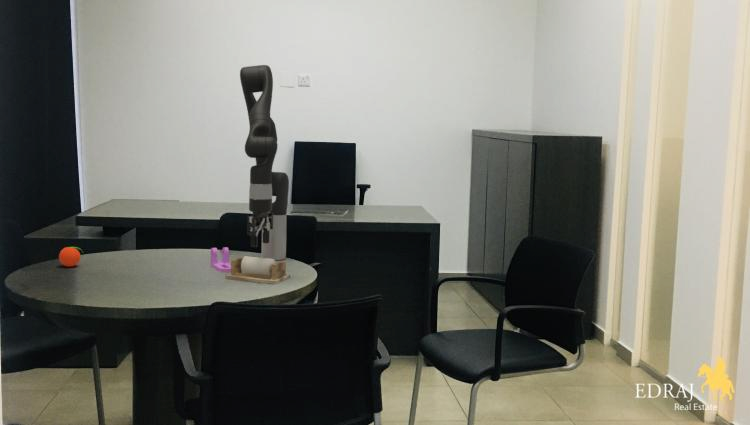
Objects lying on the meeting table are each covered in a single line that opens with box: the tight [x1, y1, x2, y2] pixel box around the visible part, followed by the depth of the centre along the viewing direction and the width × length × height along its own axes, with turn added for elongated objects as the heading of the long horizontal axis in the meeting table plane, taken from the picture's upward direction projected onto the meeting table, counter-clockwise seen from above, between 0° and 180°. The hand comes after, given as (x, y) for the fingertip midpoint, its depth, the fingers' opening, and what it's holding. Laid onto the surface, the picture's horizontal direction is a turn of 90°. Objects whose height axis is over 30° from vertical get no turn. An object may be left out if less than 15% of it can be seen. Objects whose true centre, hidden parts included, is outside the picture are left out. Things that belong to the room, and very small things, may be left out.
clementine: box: [58, 246, 85, 268], centre depth 264 cm, size 8×7×7 cm
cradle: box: [225, 256, 291, 285], centre depth 256 cm, size 12×18×6 cm, turn 71°
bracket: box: [210, 246, 231, 273], centre depth 270 cm, size 13×6×7 cm, turn 27°
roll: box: [241, 255, 277, 277], centre depth 256 cm, size 11×6×6 cm, turn 71°
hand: (260, 245), depth 255 cm, fingers open, 8 cm apart
